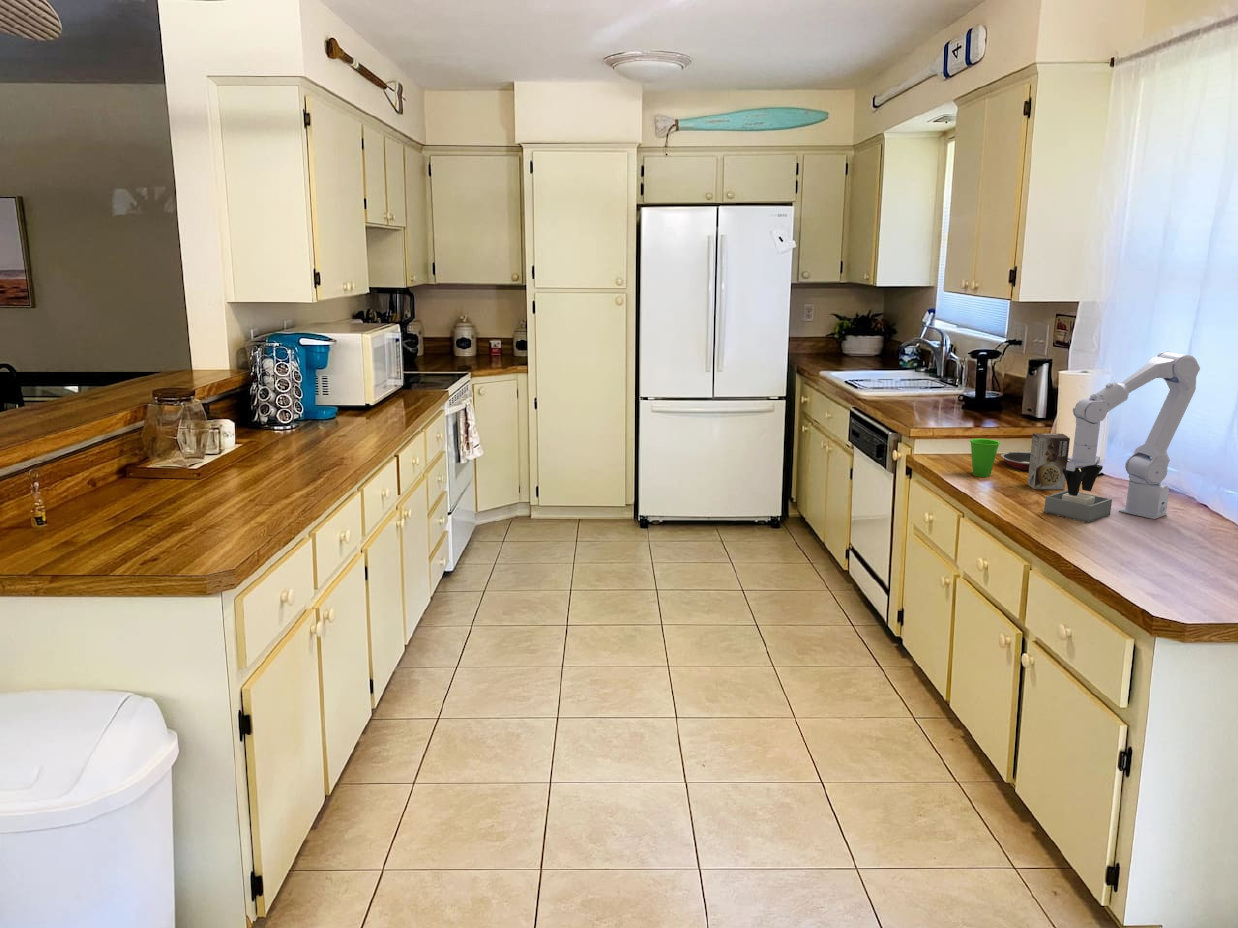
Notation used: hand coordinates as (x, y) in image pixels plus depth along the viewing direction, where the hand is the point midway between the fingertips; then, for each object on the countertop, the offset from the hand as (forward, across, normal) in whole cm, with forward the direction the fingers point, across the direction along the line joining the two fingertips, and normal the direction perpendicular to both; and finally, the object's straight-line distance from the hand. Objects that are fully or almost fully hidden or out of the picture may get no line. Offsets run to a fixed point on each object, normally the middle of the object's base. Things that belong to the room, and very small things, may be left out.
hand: (1079, 492), depth 253 cm
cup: (+6, -19, -40) cm, 45 cm away
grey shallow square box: (+6, 0, 0) cm, 6 cm away
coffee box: (+6, -21, -20) cm, 30 cm away
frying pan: (+6, -39, -32) cm, 51 cm away
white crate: (+5, 0, 0) cm, 5 cm away
